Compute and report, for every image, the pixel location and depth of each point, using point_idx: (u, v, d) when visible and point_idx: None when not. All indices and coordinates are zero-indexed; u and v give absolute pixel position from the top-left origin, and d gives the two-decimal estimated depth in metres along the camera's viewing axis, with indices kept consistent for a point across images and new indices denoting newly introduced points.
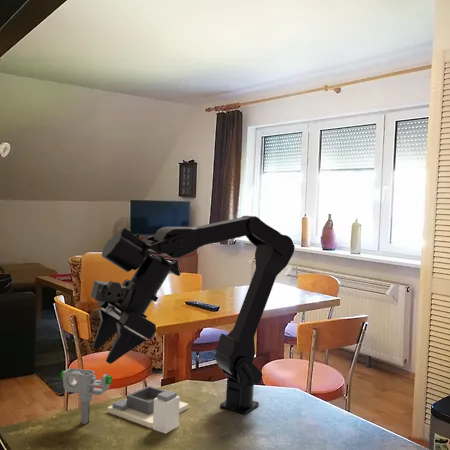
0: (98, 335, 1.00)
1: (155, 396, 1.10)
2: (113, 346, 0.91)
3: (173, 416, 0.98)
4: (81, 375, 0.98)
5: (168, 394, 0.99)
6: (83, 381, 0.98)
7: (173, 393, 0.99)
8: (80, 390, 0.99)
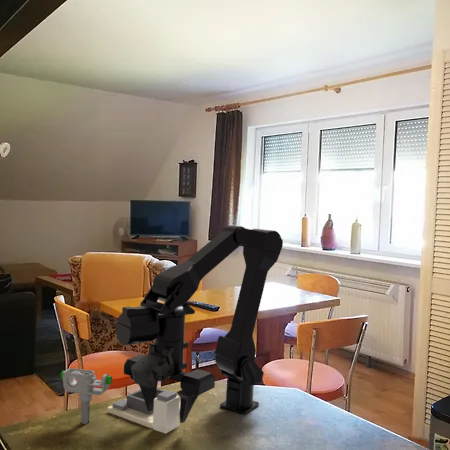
0: (148, 400, 1.00)
1: None
2: (182, 409, 0.95)
3: (173, 416, 0.98)
4: (81, 375, 0.98)
5: (168, 394, 0.99)
6: (83, 381, 0.98)
7: (173, 393, 0.99)
8: (80, 390, 0.99)
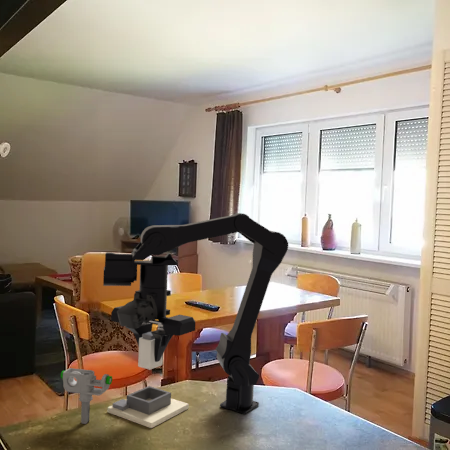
0: None
1: (155, 396, 1.10)
2: (157, 349, 1.04)
3: None
4: (81, 375, 0.98)
5: None
6: (83, 381, 0.98)
7: None
8: (80, 390, 0.99)
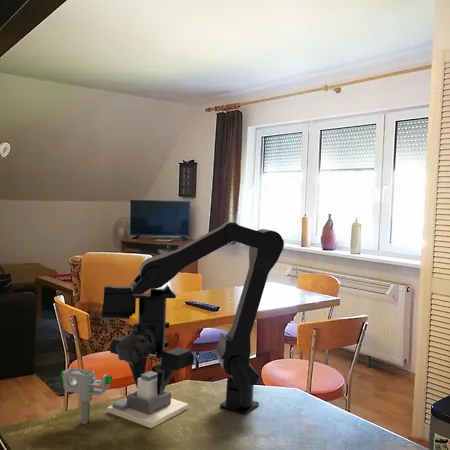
0: (137, 378, 1.07)
1: None
2: (159, 383, 1.04)
3: (155, 395, 1.06)
4: (81, 375, 0.98)
5: (151, 374, 1.06)
6: (83, 381, 0.98)
7: (156, 373, 1.07)
8: (80, 390, 0.99)
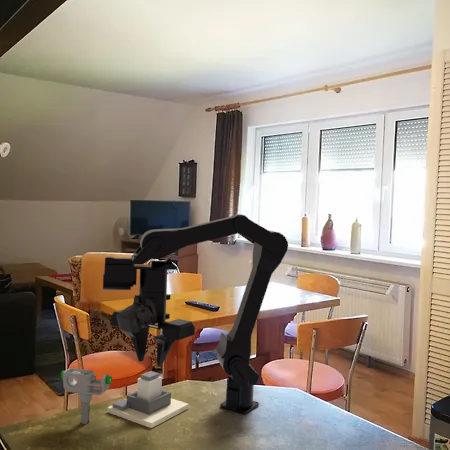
0: (138, 350, 1.07)
1: None
2: (159, 354, 1.04)
3: (155, 395, 1.06)
4: (81, 375, 0.98)
5: (151, 374, 1.06)
6: (83, 381, 0.98)
7: (156, 373, 1.07)
8: (80, 390, 0.99)
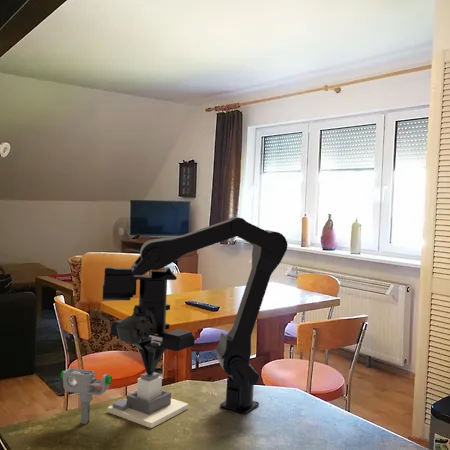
0: (147, 362, 1.06)
1: None
2: (150, 361, 1.05)
3: (155, 395, 1.06)
4: (81, 375, 0.98)
5: (151, 374, 1.06)
6: (83, 381, 0.98)
7: (156, 373, 1.07)
8: (80, 390, 0.99)
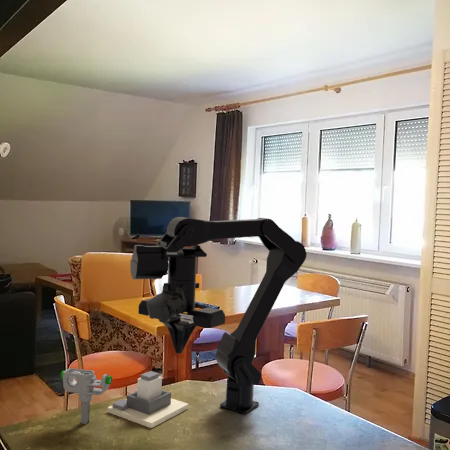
0: (176, 341, 1.04)
1: None
2: (179, 340, 1.03)
3: (155, 395, 1.06)
4: (81, 375, 0.98)
5: (151, 374, 1.06)
6: (83, 381, 0.98)
7: (156, 373, 1.07)
8: (80, 390, 0.99)
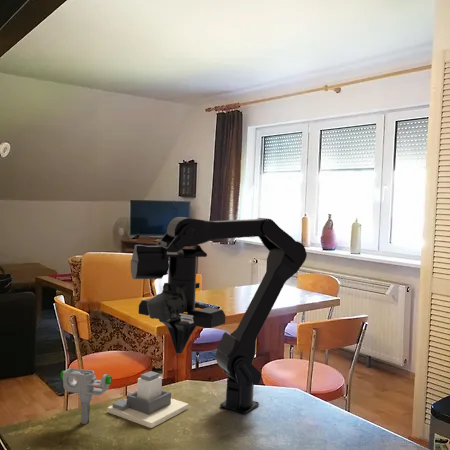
0: (176, 341, 1.04)
1: None
2: (179, 340, 1.03)
3: (155, 395, 1.06)
4: (81, 375, 0.98)
5: (151, 374, 1.06)
6: (83, 381, 0.98)
7: (156, 373, 1.07)
8: (80, 390, 0.99)
